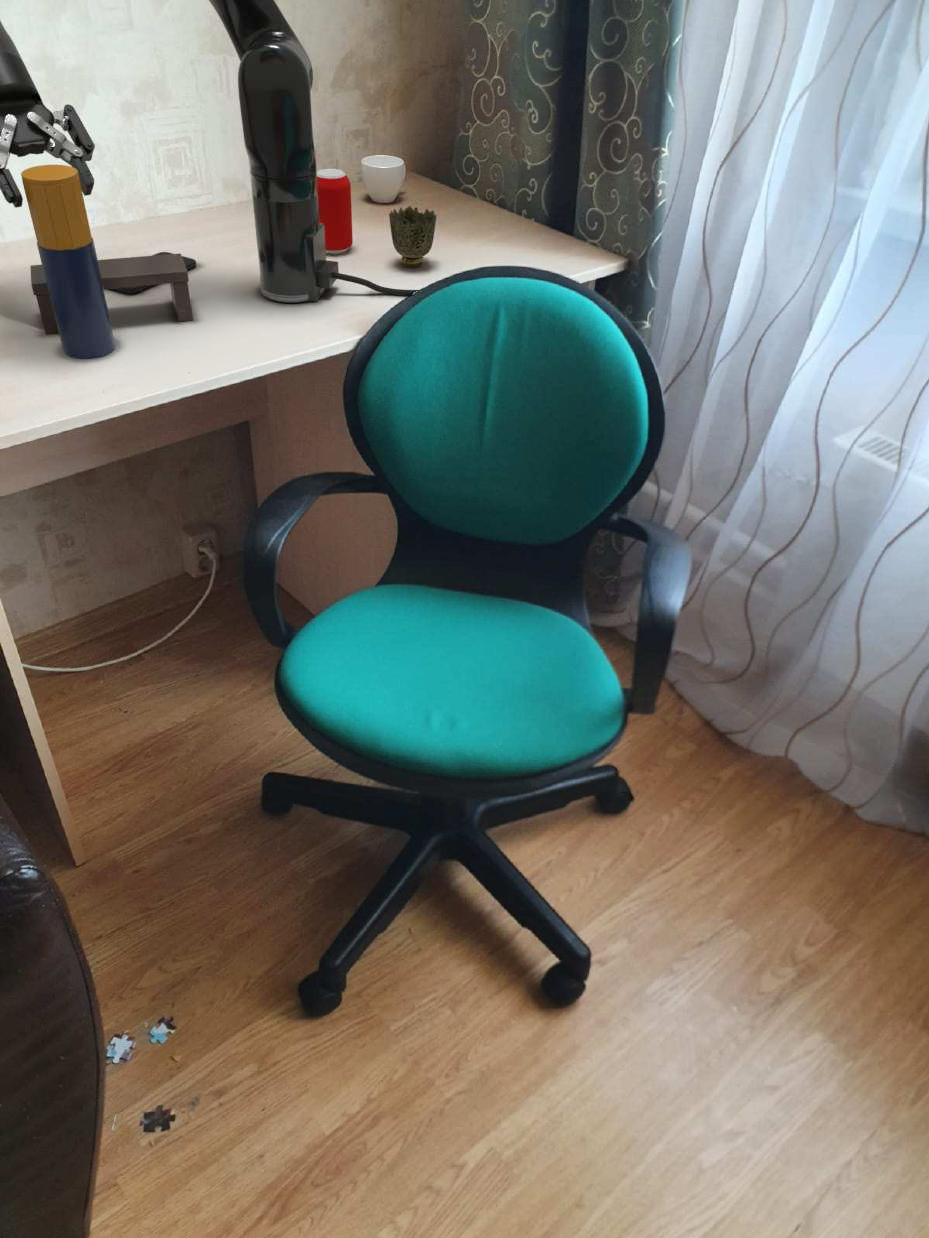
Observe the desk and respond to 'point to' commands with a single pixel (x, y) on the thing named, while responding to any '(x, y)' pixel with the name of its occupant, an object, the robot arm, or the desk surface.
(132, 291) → the phone
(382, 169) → the cup
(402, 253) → the cup
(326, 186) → the beverage can
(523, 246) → the desk surface
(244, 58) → the robot arm
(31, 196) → the cap
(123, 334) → the desk surface
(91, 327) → the flask
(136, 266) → the small brown bench
